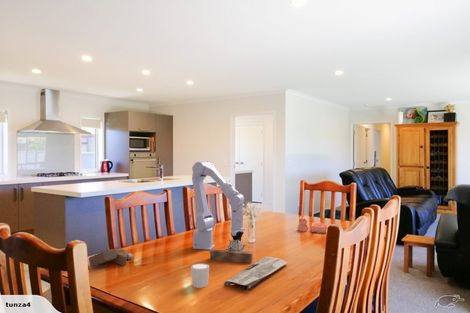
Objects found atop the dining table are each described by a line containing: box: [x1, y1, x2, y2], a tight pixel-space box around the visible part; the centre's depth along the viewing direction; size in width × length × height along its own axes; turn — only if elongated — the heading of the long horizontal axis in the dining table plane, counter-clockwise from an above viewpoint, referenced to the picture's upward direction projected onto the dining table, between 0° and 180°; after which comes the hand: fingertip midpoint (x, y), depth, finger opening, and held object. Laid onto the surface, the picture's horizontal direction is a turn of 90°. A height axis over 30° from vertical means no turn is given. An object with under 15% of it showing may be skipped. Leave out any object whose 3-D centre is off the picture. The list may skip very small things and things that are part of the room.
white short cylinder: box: [190, 263, 210, 289], centre depth 126 cm, size 7×7×7 cm
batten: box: [209, 249, 253, 264], centre depth 155 cm, size 19×2×4 cm, turn 76°
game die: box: [225, 238, 247, 252], centre depth 161 cm, size 9×8×10 cm
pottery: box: [297, 214, 328, 234], centre depth 212 cm, size 18×10×10 cm, turn 74°
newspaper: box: [224, 256, 289, 290], centre depth 137 cm, size 35×12×4 cm, turn 150°
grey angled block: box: [88, 247, 133, 267], centre depth 150 cm, size 8×13×18 cm
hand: (237, 247), depth 166 cm, fingers closed
